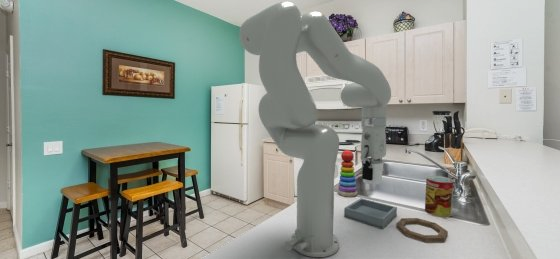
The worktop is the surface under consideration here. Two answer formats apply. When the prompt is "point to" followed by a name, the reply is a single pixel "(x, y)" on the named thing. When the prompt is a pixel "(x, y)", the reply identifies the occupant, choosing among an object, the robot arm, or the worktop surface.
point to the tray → (371, 213)
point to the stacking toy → (347, 175)
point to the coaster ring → (420, 237)
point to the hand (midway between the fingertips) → (371, 176)
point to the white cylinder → (376, 172)
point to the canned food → (439, 196)
